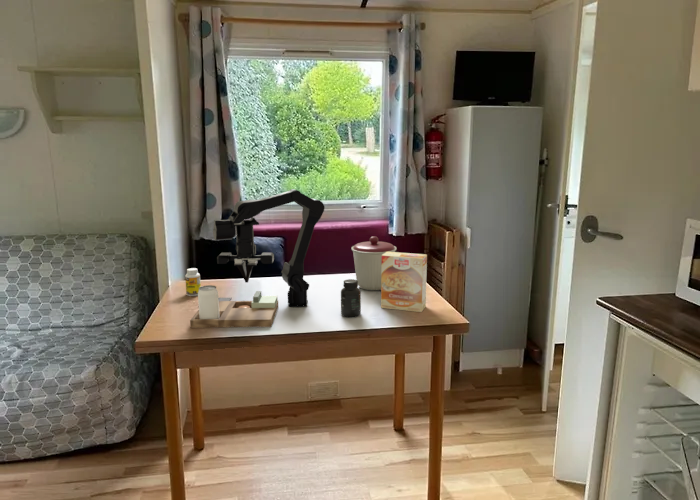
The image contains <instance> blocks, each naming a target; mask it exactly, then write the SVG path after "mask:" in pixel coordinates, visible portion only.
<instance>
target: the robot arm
mask: <svg viewBox="0 0 700 500" xmlns="http://www.w3.org/2000/svg"><path fill="white" fill-rule="evenodd" d="M291 203H295V204H297V205H298V206H300V207H301V208H302V213H301V215H302V223H301V226H300V230H299V232H298V235H297V236H298V237H297V240H296V242H295V245H294V250H293V252H292V255H291V258H290V260H289V261H288V262H286V261H285V262H284V263H283V268H282V270H281V274H282V275H281V277H282V280H283V281H284V282H285V283H287V286H288V291H287V304H288V307H293V308H294V307H295V308H296V307H297V308H299V307H308V304H309V303H308V301H309V300H308V290H309V288H310V283H309V282H307V281H306V280H305V279H304V275H305V270H304V269H305V267H304V264H305V263H304V262H305V260H306V259H305V258H306V256H307V252H308V249H309V246H310V242H311V239H312V235H313V233H314V230H315V226H316V225H317V223H318V222H319V221H320V220H321V218H322V216H323V214H324V212H325V208H326V207H325V205H324V203H323V201H322V200H319V199H315V198H313V197H309V196H308V195H305V194H303V193H302V192H301V191H300V190H298V189H293V188H292V189H290V190H287V191H283V192H281V193H276V194H273V195H269V196H267V197H263V198H259V199H246V200H245V199H244V200H239V201H236V203H235V204H234V207H233V211H232V213H231V214H230V216H229V217H228V219H214V220H213V228H212V232H213V233H212V234H213V239H214V241H224V240H225V241H226V240H233V238H235V237H236V243H235V250H236V253H237V254H236V255H234V254H232V252H221V253H220V254H219V255H217V257H216V262H217V264H218V265H226V264H227V263H228V262H230V261H231V262H233V261H234V264H233V266H234V267H237V269H238V270H239V273H240V274H241V276H242V277H243V280H244V282H245V283H249V280H250V277H251V274H252V271H253V268H254V267H256V266H257V264H258V262H259V261H260V263H261V264H263V265H264V264H266V265H270V264H273V263H274V260H275V254H274V253H273V252H262V253H261V254H257V245H256V244H255V241H254V239H255V238H254V237H255V235H254V226H257V225H260V222H259V221H257V220H256V218H255V216H258V215H259V214H260V213H262V212H265V211H267V210H270V209H271V210H272V209H273V208H277V207H280V206H284V205H287V204H291ZM256 254H257V255H256ZM246 263H247V264H246Z"/></svg>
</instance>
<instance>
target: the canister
mask: <svg viewBox="0 0 700 500" xmlns="http://www.w3.org/2000/svg"><path fill="white" fill-rule="evenodd" d="M350 250H351V251H352V253H353V261H354V269H355V270H354V272H355V278H356V279H355V280H357V281H358V288H359V289H360V288H361V289H362V290H366V291H381V263H382V255H383V254H384V253H386V252H397V250H398V249H397V246H395V245H393V244H392V243H390V242H386V241H379V238H378V237H377V236H371V237H370V238H369V241H362V242H358V243H356V244H354V245H352V246H351V249H350Z"/></svg>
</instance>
